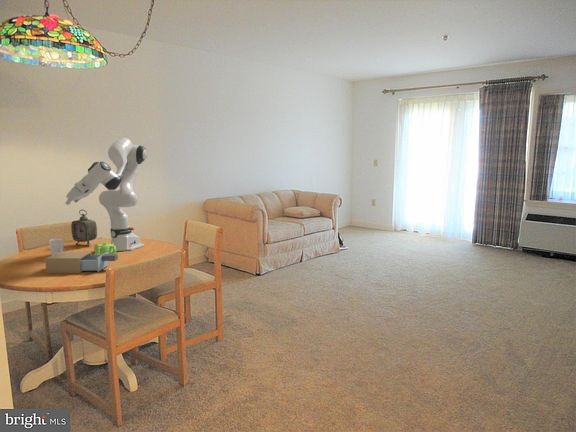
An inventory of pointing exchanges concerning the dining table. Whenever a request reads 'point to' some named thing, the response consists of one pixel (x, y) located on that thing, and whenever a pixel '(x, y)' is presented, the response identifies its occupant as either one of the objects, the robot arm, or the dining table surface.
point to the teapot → (105, 248)
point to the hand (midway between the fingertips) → (71, 202)
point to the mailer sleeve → (65, 262)
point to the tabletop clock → (84, 229)
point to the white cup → (56, 245)
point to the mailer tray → (97, 261)
